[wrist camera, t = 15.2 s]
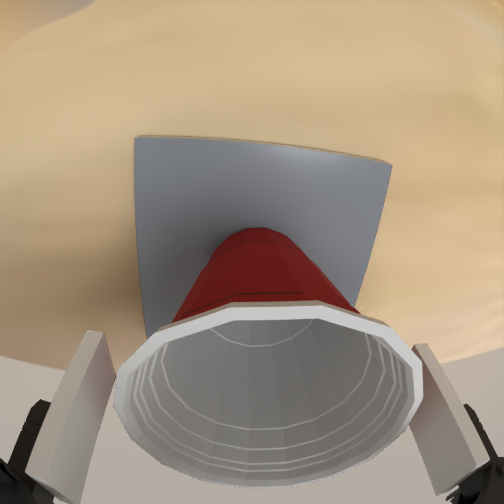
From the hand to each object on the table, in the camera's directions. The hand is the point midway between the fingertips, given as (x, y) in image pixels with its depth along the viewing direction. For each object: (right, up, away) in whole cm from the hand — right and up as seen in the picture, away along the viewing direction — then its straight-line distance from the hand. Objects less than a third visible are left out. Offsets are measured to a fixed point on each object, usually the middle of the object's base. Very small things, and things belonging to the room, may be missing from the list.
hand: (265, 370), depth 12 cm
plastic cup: (0, +4, +8) cm, 9 cm away
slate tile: (0, +4, +9) cm, 10 cm away
